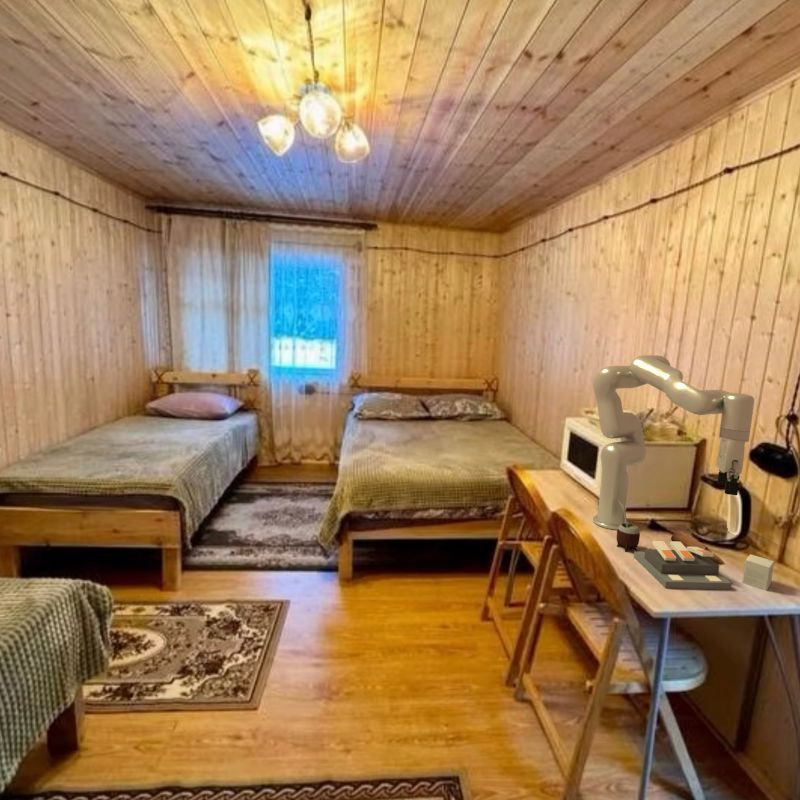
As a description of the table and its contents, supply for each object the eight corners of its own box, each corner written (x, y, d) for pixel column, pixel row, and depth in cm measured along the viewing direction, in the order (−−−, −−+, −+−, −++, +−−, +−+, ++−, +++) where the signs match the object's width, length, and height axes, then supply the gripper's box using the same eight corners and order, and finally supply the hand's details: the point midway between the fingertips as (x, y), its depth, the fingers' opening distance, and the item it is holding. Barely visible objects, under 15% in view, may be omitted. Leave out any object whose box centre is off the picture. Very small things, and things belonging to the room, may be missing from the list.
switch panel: (633, 557, 162) (635, 542, 161) (691, 558, 162) (693, 544, 161) (665, 588, 143) (667, 571, 142) (730, 589, 143) (732, 573, 142)
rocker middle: (668, 546, 155) (670, 541, 155) (679, 546, 156) (680, 541, 155) (682, 563, 148) (684, 557, 147) (693, 563, 148) (694, 557, 147)
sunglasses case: (728, 565, 158) (720, 547, 157) (708, 575, 158) (700, 558, 157) (693, 540, 176) (685, 525, 175) (675, 550, 176) (667, 534, 175)
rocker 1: (651, 546, 155) (652, 540, 155) (661, 546, 155) (663, 540, 155) (664, 563, 148) (665, 557, 147) (674, 563, 148) (676, 557, 147)
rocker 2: (686, 553, 155) (686, 546, 155) (696, 553, 155) (696, 546, 155) (702, 559, 147) (702, 552, 147) (713, 560, 147) (713, 552, 147)
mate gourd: (637, 555, 163) (642, 511, 161) (611, 549, 167) (615, 506, 165) (639, 546, 170) (643, 504, 168) (614, 541, 174) (618, 500, 171)
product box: (747, 576, 151) (750, 553, 150) (771, 584, 147) (775, 561, 146) (741, 582, 147) (745, 559, 146) (766, 591, 143) (770, 567, 142)
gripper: (713, 428, 158) (707, 480, 161) (726, 439, 142) (718, 496, 145) (741, 430, 155) (734, 483, 158) (757, 442, 140) (749, 500, 142)
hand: (726, 489), depth 151 cm, fingers open, 9 cm apart
